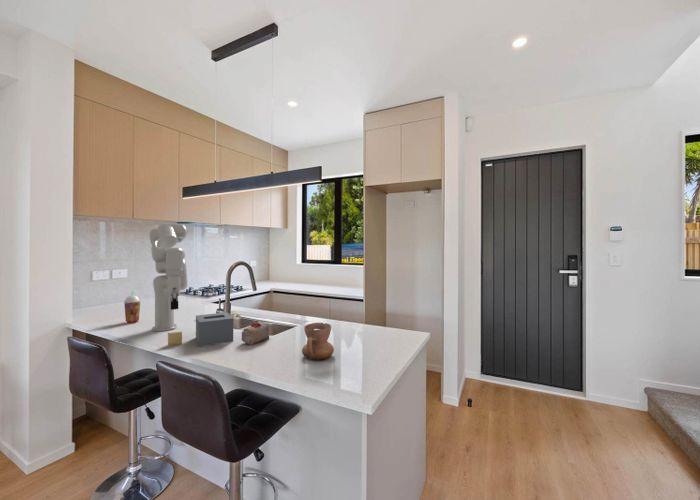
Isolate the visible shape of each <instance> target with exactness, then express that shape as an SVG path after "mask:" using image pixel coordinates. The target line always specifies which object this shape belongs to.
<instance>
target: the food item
mask: <svg viewBox="0 0 700 500" xmlns="http://www.w3.org/2000/svg"><path fill="white" fill-rule="evenodd" d="M250 325H251V326H249V327H246V328H243V330H242V331H241V341H242V342H243V343H244V344H247V345H250V346H253V345H255V344H257V343H260V342H263V341H266V340H268V339H270V329H269V328H270V327H269V324H267V323H265V322H261V323H259V322H252V321H251V324H250Z"/></svg>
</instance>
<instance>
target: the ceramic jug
mask: <svg viewBox="0 0 700 500" xmlns="http://www.w3.org/2000/svg"><path fill="white" fill-rule="evenodd" d="M303 329H304V334H305V336H306V339H307V340H306V343H305V344H304V345H303V346H302V349H301V354H302V355H303V356H304V358H305V357H306V358H307V359H310V360H314V361H315V360H316V361H317V360H318V361H319V360H325V359H327V358H330V357H331V356H332V355H333V354H334V351H335V349H334V348H335V347H334V346H333V344H332V343H331V342H329V341H328V340H329V338H330V336H331V331H332V325H331V324H329V323H327V322H313V323H312V322H311V323H307V324H306V325H304V327H303Z"/></svg>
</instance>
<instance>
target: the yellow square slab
mask: <svg viewBox="0 0 700 500" xmlns="http://www.w3.org/2000/svg"><path fill="white" fill-rule="evenodd" d="M182 343H183V331H175V332H174V331H173V332H168V333H167V347H173V346H179V345H182Z"/></svg>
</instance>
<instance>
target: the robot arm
mask: <svg viewBox="0 0 700 500" xmlns="http://www.w3.org/2000/svg"><path fill="white" fill-rule="evenodd" d="M187 232H188V231H187V227H186V226H185V225H184V224H182V223H169V222H168V223H167V222H165V223H161V224H159V225H158V227H157V228H152V229H151V230H149V241H150V244H151V248H150V250H151V257H152V261H154V263H155V265H154V267H155V271H156V273H158V274H162V275H158V276H155V277H154V278H153V281H152V286H153V291H154V326H152V328H151V331H153V332H167V331H172V330H174V329H177V327H178V325H177V324H176V323H175V322H174V321H175V310H179V296H180V293H181V291H183V290H184V291H185V290H186V289H187V287H188V274H187V262H186V259H185V257H186V253H185V250H184V249H183V248H181V247H175V246H176V245H177V243H182V242H183V241H184V240H185V239H186V237H187V234H188V233H187ZM163 274H165V275H163Z"/></svg>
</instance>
